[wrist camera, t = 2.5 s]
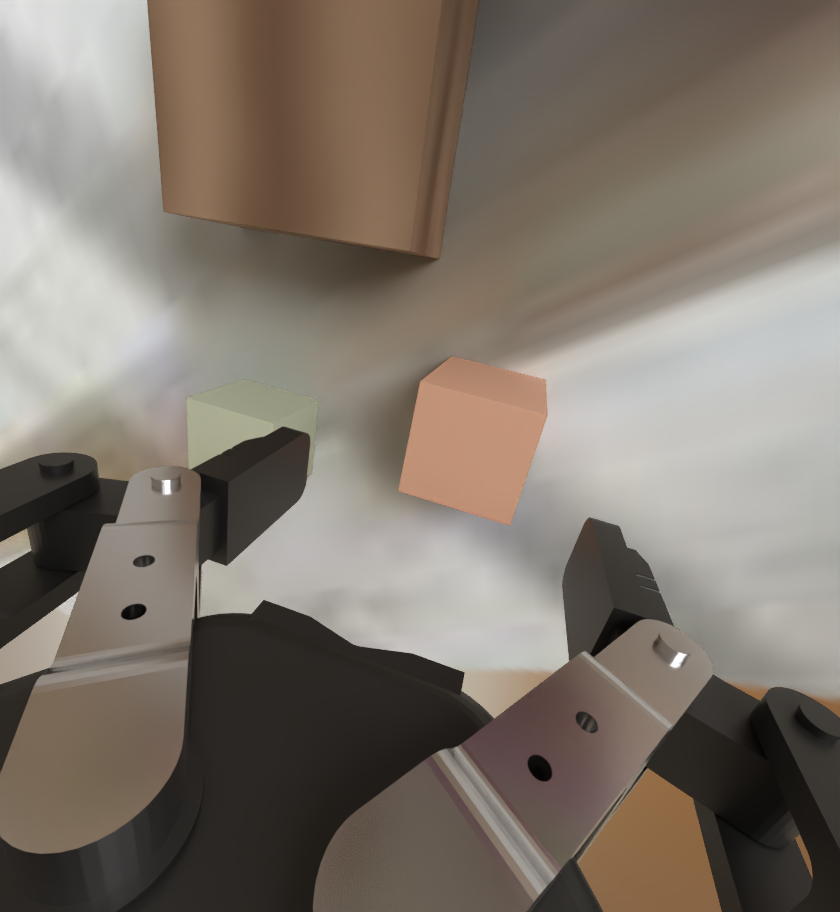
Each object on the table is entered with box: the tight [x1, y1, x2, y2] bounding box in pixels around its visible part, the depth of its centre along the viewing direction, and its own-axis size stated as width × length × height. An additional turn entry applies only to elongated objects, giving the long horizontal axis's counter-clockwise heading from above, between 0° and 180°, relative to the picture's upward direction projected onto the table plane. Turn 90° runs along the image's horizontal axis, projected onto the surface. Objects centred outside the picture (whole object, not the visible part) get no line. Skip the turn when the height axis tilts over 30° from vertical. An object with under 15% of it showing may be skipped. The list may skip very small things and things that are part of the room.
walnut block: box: [147, 0, 479, 259], centre depth 16 cm, size 10×10×5 cm
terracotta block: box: [398, 356, 547, 526], centre depth 18 cm, size 4×4×6 cm
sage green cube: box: [186, 379, 319, 477], centre depth 22 cm, size 4×4×4 cm
